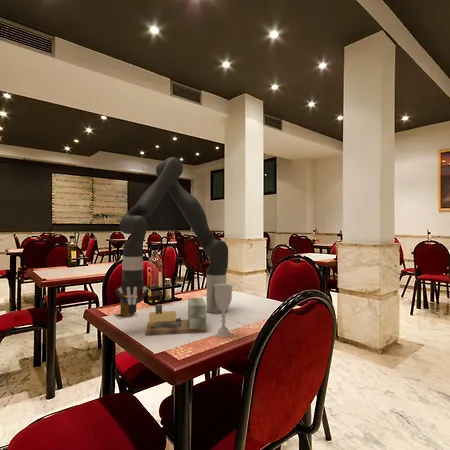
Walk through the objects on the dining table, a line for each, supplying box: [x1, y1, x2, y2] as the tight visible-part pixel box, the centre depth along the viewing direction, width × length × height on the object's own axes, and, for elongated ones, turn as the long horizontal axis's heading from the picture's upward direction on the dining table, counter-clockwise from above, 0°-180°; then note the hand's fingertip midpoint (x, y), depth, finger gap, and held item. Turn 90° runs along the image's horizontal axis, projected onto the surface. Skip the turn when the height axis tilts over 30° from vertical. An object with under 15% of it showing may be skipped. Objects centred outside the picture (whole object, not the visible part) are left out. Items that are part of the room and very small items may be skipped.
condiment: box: [113, 290, 138, 320], centre depth 137 cm, size 7×8×12 cm
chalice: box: [214, 283, 234, 338], centre depth 112 cm, size 7×7×18 cm
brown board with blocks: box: [144, 297, 207, 337], centre depth 119 cm, size 22×12×10 cm, turn 100°
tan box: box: [148, 303, 177, 327], centre depth 118 cm, size 10×3×8 cm, turn 100°
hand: (132, 313), depth 116 cm, fingers closed
